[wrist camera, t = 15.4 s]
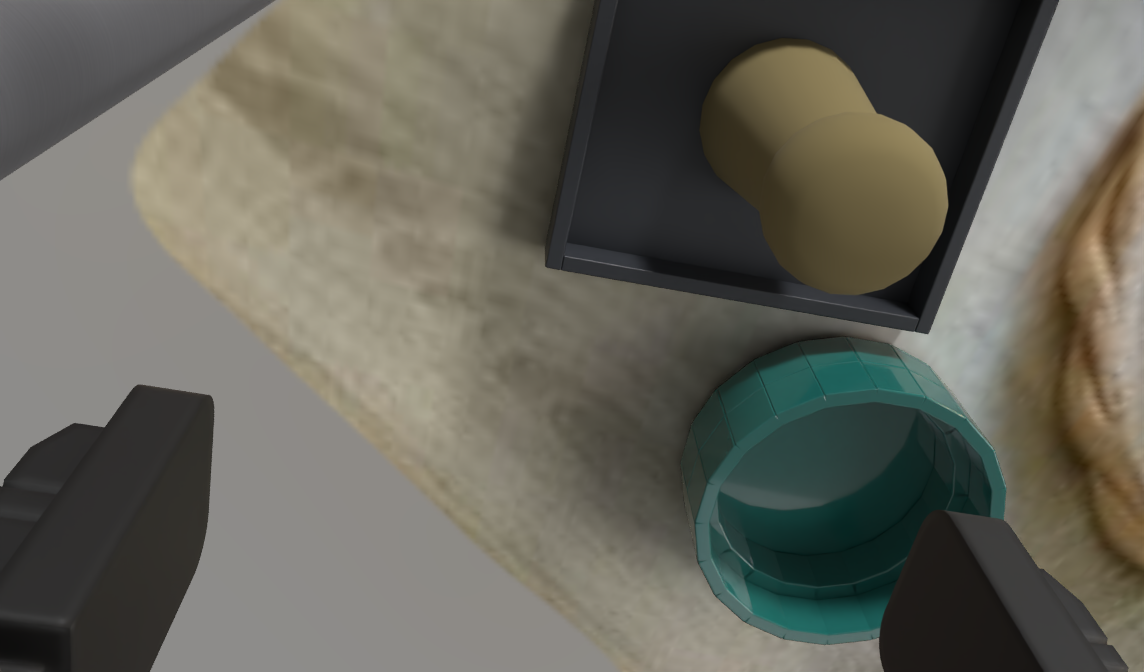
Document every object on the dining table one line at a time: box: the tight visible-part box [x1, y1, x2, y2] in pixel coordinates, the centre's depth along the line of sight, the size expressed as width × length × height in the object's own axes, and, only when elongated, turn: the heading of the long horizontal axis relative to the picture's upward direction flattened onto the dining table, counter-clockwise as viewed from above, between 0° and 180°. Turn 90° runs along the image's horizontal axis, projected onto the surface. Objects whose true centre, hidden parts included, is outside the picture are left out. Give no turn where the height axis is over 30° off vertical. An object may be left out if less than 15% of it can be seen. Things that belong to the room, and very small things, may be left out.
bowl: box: [680, 336, 1006, 645], centre depth 43 cm, size 12×12×5 cm
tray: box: [545, 0, 1059, 334], centre depth 37 cm, size 15×13×2 cm
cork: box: [699, 38, 948, 295], centre depth 33 cm, size 6×6×11 cm
